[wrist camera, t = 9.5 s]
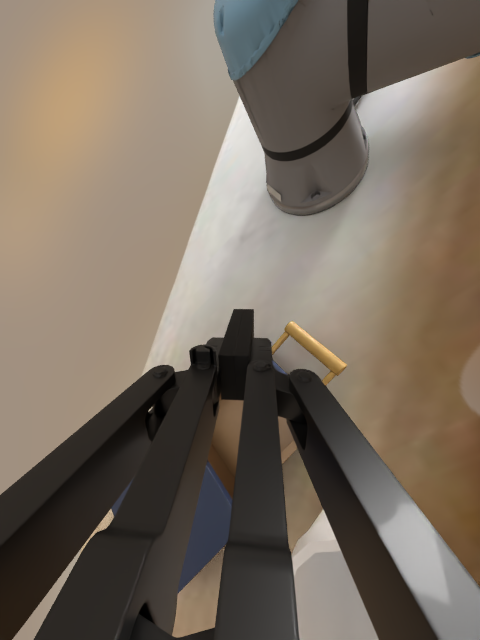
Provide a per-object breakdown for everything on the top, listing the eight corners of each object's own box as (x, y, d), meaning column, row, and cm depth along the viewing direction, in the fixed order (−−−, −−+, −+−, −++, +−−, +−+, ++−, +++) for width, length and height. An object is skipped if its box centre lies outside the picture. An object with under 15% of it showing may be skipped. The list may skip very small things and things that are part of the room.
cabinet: (205, 407, 37) (174, 412, 31) (267, 495, 30) (243, 526, 23) (146, 476, 39) (106, 494, 33) (191, 575, 32) (150, 621, 26)
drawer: (284, 315, 33) (272, 304, 28) (368, 383, 26) (370, 383, 22) (195, 420, 36) (171, 426, 31) (251, 505, 29) (231, 528, 25)
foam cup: (334, 578, 25) (312, 742, 13) (302, 479, 28) (262, 545, 17) (434, 575, 21) (513, 790, 10) (383, 464, 25) (401, 534, 14)
